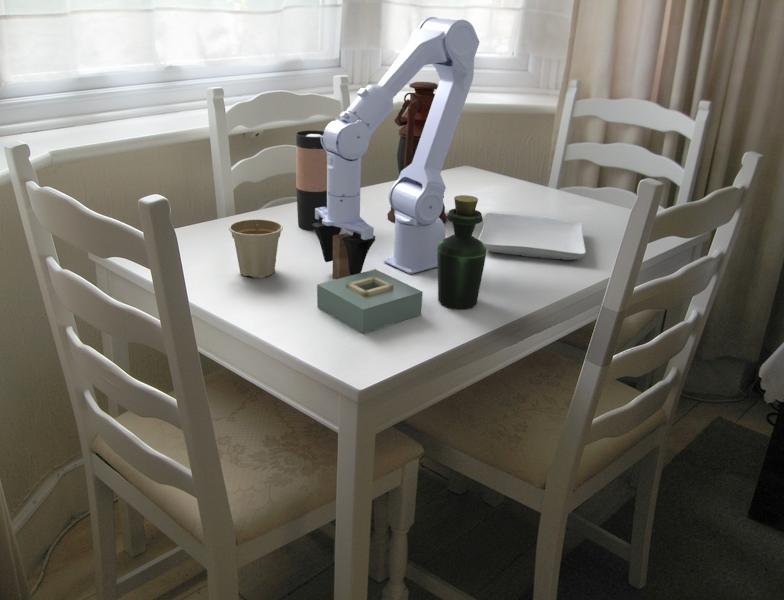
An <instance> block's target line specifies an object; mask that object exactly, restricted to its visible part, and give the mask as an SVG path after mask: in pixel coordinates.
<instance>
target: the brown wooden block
mask: <svg viewBox="0 0 784 600" xmlns="http://www.w3.org/2000/svg"><path fill="white" fill-rule="evenodd" d="M347 236H353V234H351V233H349V232H343V233H340V234H338V235H333V261H332V279H333V280H336V279H340V278H343V277H347V276H351V274H350V272H349V265H348V254H347V249H346V246H345V243H344V241H343V237H347Z"/></svg>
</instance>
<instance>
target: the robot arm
mask: <svg viewBox="0 0 784 600" xmlns="http://www.w3.org/2000/svg"><path fill="white" fill-rule="evenodd" d="M479 45H480V40H479V38H478V35H477V33H476V30H475V27H474V26H473V24H472V23H471V22H470V21H469V20H467V19H449V18H438V17H435V16H430V17H426V18H425V19H423V20H422V21H421V22H420V23H419V24H418V27H417V28H416V29H414V30H413V31H412V32H411V35H410V39H409V41H408V43H407V44H406V46H405V47H404V48H403V50H402V51H401V53H400V54H399V55H398V56H397V58H396V59H395V61H394V62H393V63H392V65H391V66H390V67H389V69H388V70H387V71H386V73H385V74H384V75H383V77H381V79H380V81H378V83H377V84H369V85H366V87H361V88H360V89H359V90H358V91H357V95H358V96H357V97H356V98H355V99H354V101H353V102H352V103H351V104H350V105H349V106H348V107H347V109H346V110H345V111H342V112H341V113H340V114H339V119H335V120H332V121H331V122H329V123H328V124H327V125H326V127H325V128H324V130H323V131H324V134H323V136H321V137H320V140H321V144H322V146H323V148H324V149H325V150H326V153H327V208H326V207H320V208H315V219H317V220H319V221H318V223H314V224H312V228H313V229H314V231H313V232H314V233H315V235H316V237H317V239H318V242H319V245H320V248H321V252H322V256H323V259H324V262H326V263H329V262H333V235H338V234H341V230H342V229H343V230H345V231H347V232H348V233H349V232H350V233H352V235H353V236H347V237H343V241H344V243H345V246H346V249H347V254H348V265H349V272H350V274H351V275H355V274H359V273H362V271H363V267H364V265H365V260H366V258H367V255H368V253H369V251H370V249H371V247H372V245H373V244H374V243H375V241H376V236H375V235H374V232H375V231H374V226H372V225H370V224H368V223H367V221H366V220H364V219H363V218H362V217H361V216H360V215H361V178H362V177H361V175H362V174H361V173H362V157H363V155H364V154H366V153H367V151H368V148H369V145H370V140H371V137H372V135H373V133H374V132H375V131H376V130H377V128H379V126H380V125H381V124H382V122H383V121H384V120H385V119H386V118H387V117H388V115H389V114H390V113H391V112H392V111H393V109H394V98H395V97H396V96H397V95H398V94H399V93H400V92H401V90H402V89H404V87H405V86H406V85H407V84H408V83H410V81H411V80H412V79H413V78H414V77H415V76H416V75H417V74H418V73H419V72H420V71H421V70H422V69H423V68H424V67H425V66H426V65H428V66H429V65H432V66H433V67H434V69H435V70H436V72H437V75H438V77H439V82H438V84H437V85H438V88H437V89H436V91H435V93H434V94H435V96H434V99H433V102H432V105H431V108H430V111H429V114H428V117H427V120H426V123H425V126H424V129H423V132H422V135H421V138H420V141H419V144H418V147H417V150H416V152H415V155H414V158H413V161H412V164H410V165H409V166H408V167H406V168H405V169H403V170H402V171H401V173H400V176H398V178H397V180H396V181H395V182H394V183H393V185H392V186H391V188H390V190H389V193H388V203H389V205H390V208H391V207H392V208H393V209H394V210H395V212H394V215H395V223H394V242H393V243H394V244H393V245H394V246H393V256H392V257H388V258H384V259H383V262H384V263H385V264H387V265H390V266H391V267H394V268H397V269H399V270H401V271H403V272H405V273H407V274H416V273H419V272H422V271H423V272H424V271H427V270H430V269H434V268H438V261H437V248H438V245H439V243H440V242H441V241H442V240H443V239H445V238H446V233H447V232H446V226H445V224H444V223H443V222H442V220H441V219H440V218H439V216H440V214H441V212H442V210H443V203H444V198H443V195H445V191H446V187H447V186H446V184H445V182H444V180H443V177H442V175H441V173H440V172H442V169H443V166H444V165H445V164H444V163H445V161H446V158H447V155H448V152H449V149H450V147H451V144H452V140H453V138H454V135H455V131H456V130H457V129H456V128H457V126H458V124H459V120H460V117H461V116H462V115H461V114H462V111H463V109H464V107H465V104H466V101H467V98H468V95H469V92H470V90H471V86H472V83H473V80H474V74H475V73H474V70H475V56H476V53H477V51H478V48H479ZM420 183H421V184H422V185H419V184H420Z"/></svg>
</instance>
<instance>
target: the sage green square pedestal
mask: <svg viewBox="0 0 784 600" xmlns="http://www.w3.org/2000/svg"><path fill="white" fill-rule="evenodd" d="M316 286H317V287H316V290H317V291H316V295H317V296H316V297H317V298H316V300H317V301H316V303H317V304H316V305H317V306H316V307H317V308H318V309H320V310H322V311H324V312H325V313H327V314H328V315H330V316H332V317H334V318H335V319H337V320H338V321H340V322H342V323H344V324H345V325H347V326H349V327H350V328H352V329H354V330H356V331H357V332H359V333H361V334H367V333H369V332H371V331H374V330H378V329H381V328H384V327H387V326H391V325H393V324H397V323H399V322H402V321H405V320H409V319H412V318H415V317H418V316H421V315H422V311H423V310H422V308H423V307H422V306H423V292H424V291H422V290H421V289H418V288H416V287H413V286H412V285H410V284H408V283H405V282H403V281H401V280H399V279H397V278H395V277H393V276H392V275H391V276H390V275H388V274H386V273H384V272H383V271H380V270H378V269H376V268H375V269H371V270H367V271H364V272H361V273H359V274H355V275H351V276H347V277H343V278H340V279H333V280H328V281H325V282H320V283H316Z"/></svg>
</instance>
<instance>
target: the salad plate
mask: <svg viewBox="0 0 784 600" xmlns="http://www.w3.org/2000/svg"><path fill="white" fill-rule="evenodd" d="M483 220H484V222H483V225H482V228H481V229H482V230H481V232H480V234H479V235H478V237H477V239H478V240H480V241H481V242H482V243H483V244H484V245H485V247H486V249H487V252H491V253H492V252H493V253H496V254H501V253H503V254H502V255H510V254H512V256H519V255H522V257H528V256H532V257H531V258H538V257H543V258H542V259H548V258H553V259H552V260H558V259H562V260H563V261H564V260H566V261H570V260H571V261H572V260H577V259H581V258H582V257H584V256H585V254H586V251H587V249H586V245H585V239H584V226H583V224H582V223H581V222H577V221H571V220H562V219H555V218H545V217H539V216H538V217H537V216H529V215H517V214H516V215H515V214H504V213H494V212H493V213H492V212H486V213H485V216H484V219H483ZM562 260H561V261H562Z"/></svg>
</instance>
